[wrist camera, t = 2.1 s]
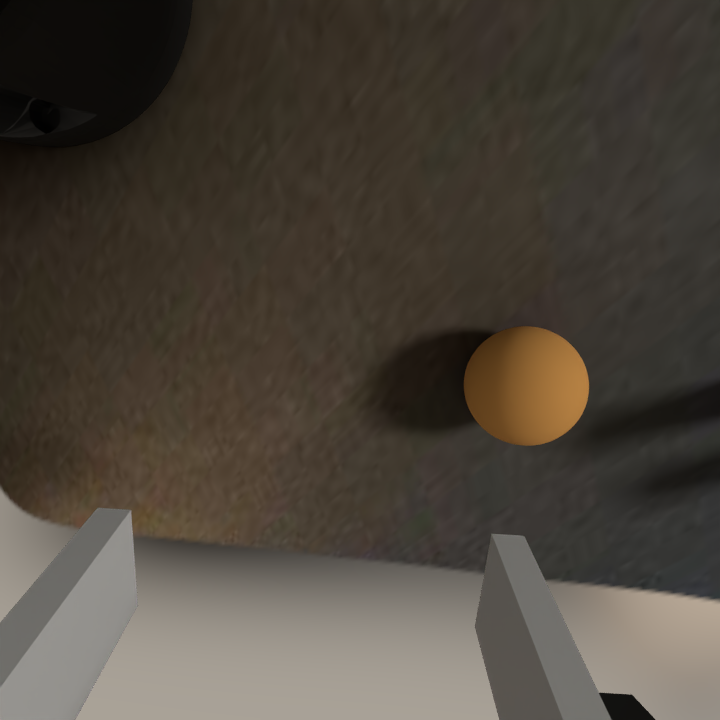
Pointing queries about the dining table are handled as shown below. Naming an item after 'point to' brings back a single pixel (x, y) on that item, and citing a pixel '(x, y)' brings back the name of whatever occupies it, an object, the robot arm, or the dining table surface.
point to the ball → (526, 385)
